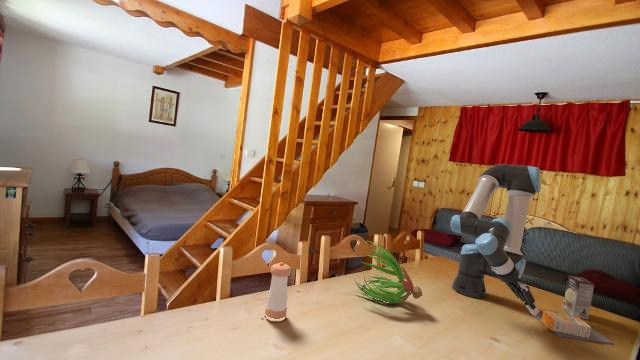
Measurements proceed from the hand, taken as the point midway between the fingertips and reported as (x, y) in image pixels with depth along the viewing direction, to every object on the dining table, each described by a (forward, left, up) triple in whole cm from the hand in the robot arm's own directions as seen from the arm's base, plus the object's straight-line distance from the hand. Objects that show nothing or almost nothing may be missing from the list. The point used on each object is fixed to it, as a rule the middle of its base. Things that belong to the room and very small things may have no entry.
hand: (535, 312), depth 130 cm
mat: (+15, +2, -5) cm, 16 cm away
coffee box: (+29, +19, -5) cm, 35 cm away
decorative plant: (-60, +2, -5) cm, 60 cm away
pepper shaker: (-100, -25, -5) cm, 103 cm away
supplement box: (+4, 0, -2) cm, 5 cm away
